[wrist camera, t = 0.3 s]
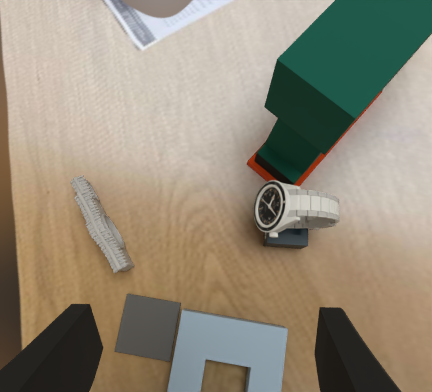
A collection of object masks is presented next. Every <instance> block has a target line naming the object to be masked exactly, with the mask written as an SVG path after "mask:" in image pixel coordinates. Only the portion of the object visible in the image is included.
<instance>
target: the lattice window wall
mask: <svg viewBox="0 0 432 392" xmlns="http://www.w3.org/2000/svg"><path fill="white" fill-rule="evenodd" d="M83 177H84V175H82V176H79V177H74V178H73V180H72V181H71V182H70V183H72V186H73V187H74V189H75V192H77V193H76V194H77V196H75V198H74V199H76V202H77V203H78V205H79V206H80V207H79V208H81V211H82V214H84V217H85V218H84V219H86V222H87V223H86V224H85V225H88V226H86V227H87V228H88V231H89V232H90V233H89V234H90V235H91V236H92V237H91V238H93V239H94V241H96V242H97V243H96V244H97V245H98V244H99V247H101V250H103V253H105V256H106V257H107V260H109V263H110V266H112V269H113V270H114V271H113V272H115V273H116V272H118V271H127V270H129V269H131V268H132V267H134V264H133V262H132V261H131V259H130V257H129V255H128V253H127V252H126V250H125V244H124V241H123V239H122V237H121V235H120V233H119V231H118V230H117V228H116V226H115V225H114V223H113V222H112V221H111V219H110V218H109V217H108V216H107V215H106V213H105V212H104V210H103V208H102V206H101V204H100V202H99V201H100V200H99V199H98V197H97V195H96V193H95V191H94V190H93V188H92V186H91V184H90V183H89V182H88V181H87V180H86V179H85V178H83Z"/></svg>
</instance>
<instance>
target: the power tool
mask: <svg viewBox="0 0 432 392" xmlns="http://www.w3.org/2000/svg"><path fill="white" fill-rule="evenodd" d="M431 34H432V0H335V1H334V2H333V3H332V4H331V5H330V6H329V7H328V8H327V9H326V10H325V11H324V12H323V13H322V14H321V15H320V16H319V17H318V18H317V19H316V20H315V21H314V22H313V23H312V24H311V25H310V26H309V28H308V29H307V30H306V31H305V32H304V33H303V34H302V35H301V36H300V37H299V38H298V39H297V40H296V41H295V42H294V43H293V44H292V45H291V46H290V47H289V48H288V49H287V50H286V51H285V52H284V53H283V54H282V55H281V56H280V57H279V58H278V59H277V62H276V66H275V69H274V73H273V77H272V80H271V84H270V88H269V92H268V95H267V99H266V103H265V106H264V107H265V108H266V109H268V110H269V111H270V112H271V113H273V114H274V115H275V116H276V117H278V120H277V121H276V123H275V125H274V127H273V129H272V131H271V133H270V135H269V137H268V139H267V141H266V142H265V143H264V144H263V145H262V146H261V147H260V149H259V150H258V151H257V152H256V153H255V154H254V155H253V156H252V157H251V158H250V159H249V160H248V162H247V165H248V166H250V167H251V168H252V169H253V170H254V171H256V172H257V173H258V174H259V175H260V176H262V177H263V178H264V179H265V180H266V181H268V182H269V181H271V180H276V181H279V182H281V183H285V184H290V185H295V186H300V185H301V183H302V182H303V181H304V180H305V179H306V178H307V177H308V175H309V174H310V173H311V172H312V171H313V170H314V169H315V167H316V166H317V165H318V164H319V163H320V162H321V161H322V160H323V158H324V157H325V156H326V155H327V154H328V153H329V152H330V150H331V149H332V148H333V147H334V146H335V145H336V144H337V142H338V141H339V140H340V139H341V138H342V137H343V136H344V134H345V133H346V132H347V131H348V130H349V129H350V128H351V127H352V125H353V124H354V123H355V122H356V121H357V120H358V119H359V117H360V116H361V115H362V114H363V113H364V112H365V111H366V109H367V108H368V107H369V106H370V105H371V104H372V103H373V102H374V100H375V99H376V98H377V97H378V96H379V95H380V93H381V92H382V90H383V88H384V87H385V86H386V85H387V84H388V83H389V82H390V81H391V79H392V78H393V77H394V76H395V75H396V74H397V73H398V71H399V70H400V69H401V68H402V67H403V66H404V65H405V63H406V62H407V61H408V60H409V59H410V58H411V57H412V56H413V54H414V53H415V52H416V51H417V50H418V49H419V48H420V46H421V45H422V44H423V43H424V42H425V41H426V40H427V38H428V37H429V36H430V35H431Z"/></svg>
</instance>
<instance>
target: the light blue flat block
mask: <svg viewBox="0 0 432 392" xmlns="http://www.w3.org/2000/svg"><path fill="white" fill-rule="evenodd" d="M287 332H288V329H287V328H286V327H284V326H280V325H275V324H269V323H263V322H258V321H252V320H246V319H241V318H235V317H229V316H224V315H218V314H213V313H207V312H201V311H196V310H190V309H183V310H182V314H181V319H180V325H179V330H178V336H177V341H176V347H175V352H174V358H173V363H172V369H171V374H170V380H169V385H168V391H167V392H200V391H201V384H202V378H203V372H204V366H205V360H206V359H208V360H213V361H219V362H224V363H230V364H235V365H240V366H246V367H248V372H247V379H246V387H245V392H281V386H282V377H283V368H284V359H285V350H286V341H287Z"/></svg>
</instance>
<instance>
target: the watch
mask: <svg viewBox="0 0 432 392" xmlns="http://www.w3.org/2000/svg"><path fill="white" fill-rule="evenodd" d="M253 213H254V220H255V223H256V225H257V227H258V228H259V229H260V230H261V231H263V232H264V246H270V247H285V248H299V249H301V248H304V247H306V246H308V229H314V230H319V229H320V228H327V227H332V226H336V224H337V223H339V199H338V198H337V197H335V196H333V195H332V194H329V193H325V192H321V191H314V190H308V191H307V190H302V189H300V187H299V186H295V185H290V184H285V183H281V182H279V181H276V180H271V181H269V182H266V183H265V184H264V185H263V186H262V187H261V188H260V190H259V192H258V194H257V196H256V199H255V203H254V212H253Z"/></svg>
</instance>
